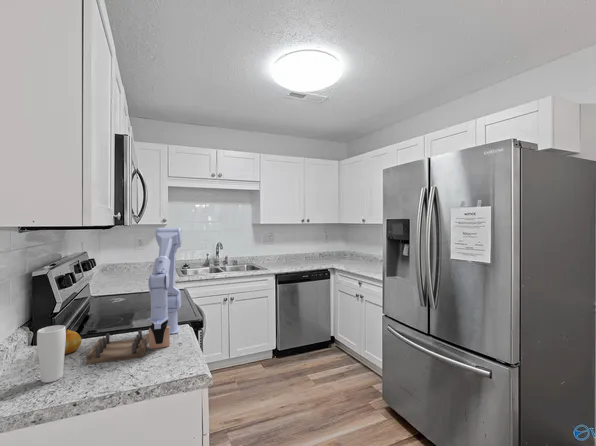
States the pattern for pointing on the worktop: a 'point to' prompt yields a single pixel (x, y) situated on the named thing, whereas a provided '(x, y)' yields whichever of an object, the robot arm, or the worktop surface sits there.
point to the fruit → (72, 341)
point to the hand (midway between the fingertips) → (159, 342)
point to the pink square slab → (165, 339)
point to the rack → (117, 349)
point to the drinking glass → (51, 352)
